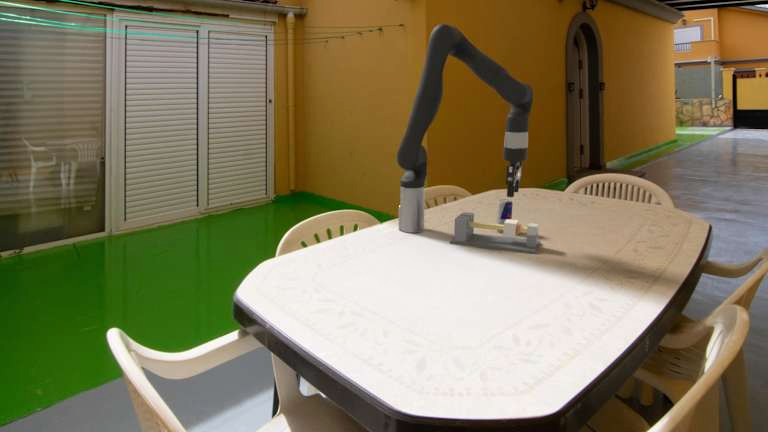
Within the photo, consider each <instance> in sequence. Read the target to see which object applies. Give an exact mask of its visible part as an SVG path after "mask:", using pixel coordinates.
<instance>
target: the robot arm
mask: <svg viewBox="0 0 768 432" xmlns="http://www.w3.org/2000/svg"><path fill="white" fill-rule="evenodd" d="M448 56H451V57H453V58H455V59H458V60H459V61H461V62H462V63H463V64H465V65H466V66H467V67H468V68H469V69H471V71H472V72H473V73H474V75H475V76H476V77H478V78H479V79H480V80H481V81H482V82H483V83H484V84H486V85H487V86H489V87H490V88H492V89H493V90H495V92H496V93H497V94H498V95H499V96H500V97H501V98H502V99H503V101H505V102H506V103H508V104H510V111H509V114H508V115H507V116H506V121H505V134H504V139H503V141H504V142H503V158H502V159H503V161H505V162H509V164H508V165H507V166H506V175H505V185H506V186H507V187H506V188H507V189H506V197H507V198H514V196H515V193H518V192H519V189H520V181H521V179H522V165H523V162H526V161H527V160H528V149H529V125H530V124H529V121H530V120H529V118H530V115H531V110H532V106H533V102H534V90H533V88H532V86H531V85H530V84H529V83H527V82H521V81H519V80H517V79H516V78H515V77H514V76H511V74H510V72H509V70H507V69H506V68H504V66H503V65H501V64H499V63H498V62H497V61H495V60H494V59H492V58H491V57H489V56H488V55H487V54H485V53H484V52H482V51H481V50H480V49H478V48H477V47H476V46H475V45H474V44H473V43H472V42H471V41H470V40H469V39H468V38H467V37H466V36H465V34H463V32H461V30H459V29H458V28H457V27H456V26H453V25H449V24H446V23H439V24H438V25H437V26H435V27H434V28H433V29H432V30H431V34H430V36H429V40H428V45H427V50H426V55H425V61H424V66H423V69H422V72H421V76H420V79H419V80H420V81H419V84H418V87H417V90H416V93H415V96H414V101H413V103H412V107H411V112H410V115H409V119H408V122H407V126H406V129H405V131H404V135H403V137H402V139H401V142H400V145H399V148H398V149H397V154H396V161H397V164H398V166H399V167H400V168H401V169H402V170H404V173H403V175H402V176H401V178H400V180H399V181H400V205H399V206H398V231H402V232H404V233H410V234H413V233H420V232H423V231H424V230H425V203H426V201H425V194H426V193H425V189H426V188H425V184H426V179H427V175H428V174H427V173H428V171H427V170H428V153H427V149H426V147H424V145H423V141H424V138H425V135H426V133H427V131H428V130H429V128H430V127H431V125H432V123H433V121H434V120H435V118H436V117H437V115H438V112H439V109H440V106H441V103H442V100H443V93H444V81H443V80H444V78H443V76H444V70H445V65H446V63H447V59H448Z"/></svg>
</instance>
